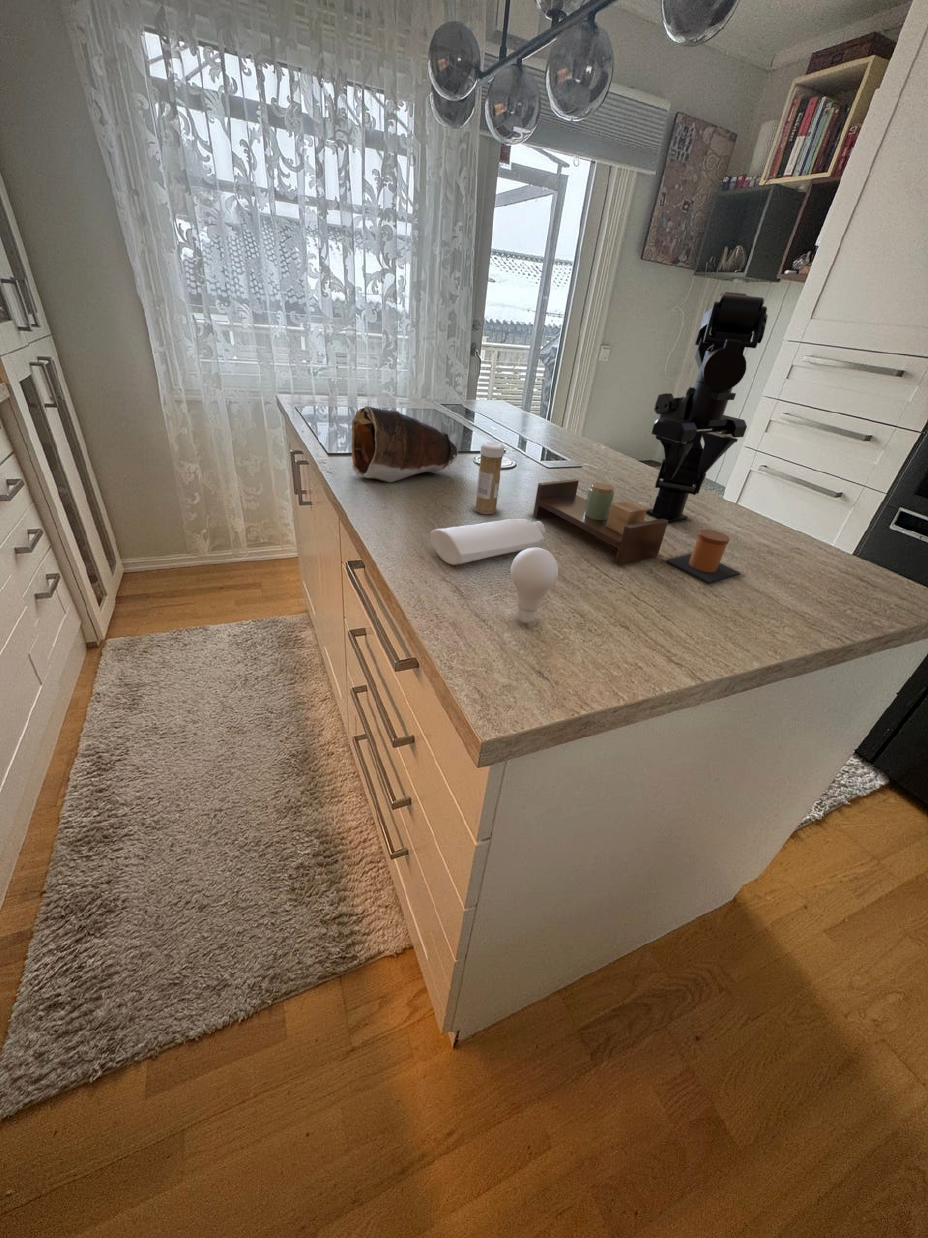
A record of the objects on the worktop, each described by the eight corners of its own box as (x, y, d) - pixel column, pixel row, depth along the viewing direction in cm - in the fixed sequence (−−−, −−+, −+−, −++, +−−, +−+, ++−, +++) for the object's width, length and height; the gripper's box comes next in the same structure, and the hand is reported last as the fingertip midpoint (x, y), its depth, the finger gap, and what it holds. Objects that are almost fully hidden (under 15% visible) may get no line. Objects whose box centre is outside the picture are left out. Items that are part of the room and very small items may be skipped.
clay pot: (478, 427, 120) (379, 406, 106) (466, 493, 125) (370, 482, 111) (445, 421, 131) (352, 402, 117) (436, 482, 136) (345, 471, 122)
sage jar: (596, 510, 101) (602, 481, 98) (613, 518, 98) (620, 488, 95) (578, 513, 99) (585, 483, 96) (595, 521, 96) (603, 491, 93)
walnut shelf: (568, 510, 112) (575, 478, 108) (657, 556, 95) (668, 520, 91) (532, 516, 107) (538, 483, 103) (619, 565, 90) (630, 528, 86)
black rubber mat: (696, 554, 97) (697, 552, 97) (739, 574, 91) (740, 572, 91) (665, 562, 93) (666, 560, 93) (708, 584, 87) (709, 582, 86)
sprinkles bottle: (500, 513, 106) (509, 447, 99) (482, 516, 104) (490, 448, 97) (487, 506, 110) (495, 441, 102) (470, 508, 107) (476, 442, 100)
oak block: (622, 523, 96) (628, 500, 94) (640, 532, 93) (647, 508, 91) (605, 526, 94) (611, 503, 92) (623, 535, 91) (630, 511, 89)
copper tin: (699, 558, 95) (710, 527, 92) (723, 569, 91) (735, 538, 88) (682, 562, 92) (693, 531, 89) (706, 574, 89) (718, 542, 86)
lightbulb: (500, 610, 73) (510, 538, 68) (542, 611, 74) (556, 540, 68) (507, 634, 68) (518, 558, 63) (551, 635, 69) (567, 561, 63)
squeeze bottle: (429, 549, 89) (430, 521, 86) (520, 533, 98) (524, 507, 96) (458, 573, 82) (461, 544, 79) (553, 553, 92) (558, 526, 89)
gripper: (707, 376, 96) (681, 460, 104) (639, 375, 87) (617, 467, 95) (763, 387, 88) (730, 477, 97) (695, 387, 79) (665, 486, 87)
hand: (685, 476), depth 94 cm, fingers open, 9 cm apart
